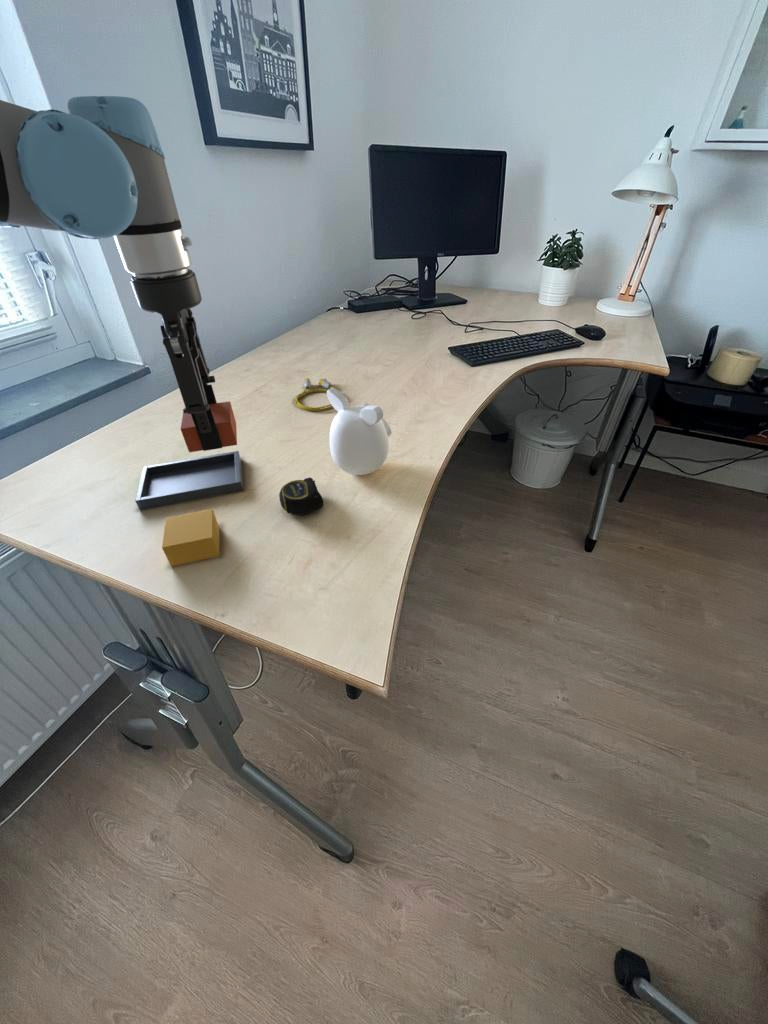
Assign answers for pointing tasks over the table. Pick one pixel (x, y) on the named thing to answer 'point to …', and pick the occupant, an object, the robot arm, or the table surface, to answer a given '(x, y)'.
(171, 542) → the pad mustard
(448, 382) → the table surface
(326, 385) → the coiled yellow cable
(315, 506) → the tape measure
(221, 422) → the pad terracotta
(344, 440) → the white bunny figurine
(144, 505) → the tray
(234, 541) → the table surface
